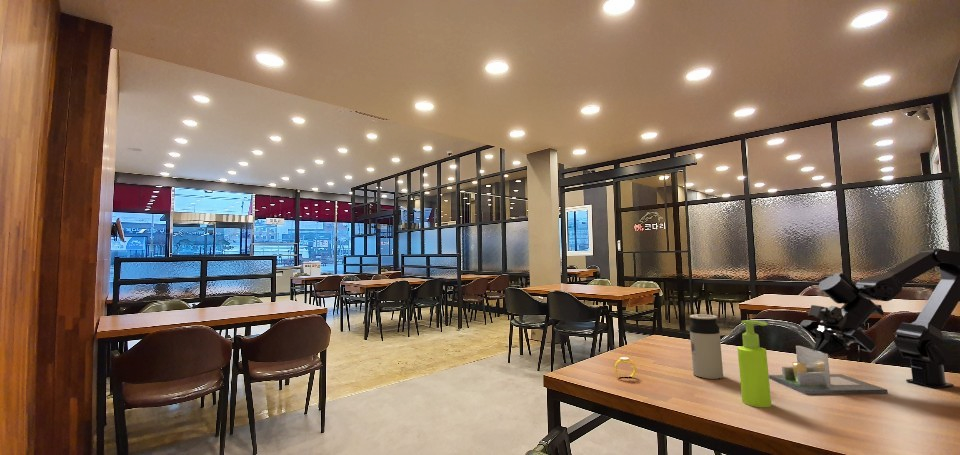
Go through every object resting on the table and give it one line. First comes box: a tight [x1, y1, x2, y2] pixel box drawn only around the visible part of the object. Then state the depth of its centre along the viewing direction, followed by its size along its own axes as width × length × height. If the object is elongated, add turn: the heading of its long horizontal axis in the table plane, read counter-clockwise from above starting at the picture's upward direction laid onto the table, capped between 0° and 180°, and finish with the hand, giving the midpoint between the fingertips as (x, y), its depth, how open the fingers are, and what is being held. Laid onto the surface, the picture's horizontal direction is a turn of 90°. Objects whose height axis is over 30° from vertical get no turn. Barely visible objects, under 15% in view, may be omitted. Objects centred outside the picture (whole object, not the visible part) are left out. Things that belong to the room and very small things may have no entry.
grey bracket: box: [781, 345, 831, 387], centre depth 109 cm, size 6×10×8 cm, turn 177°
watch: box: [614, 356, 637, 378], centre depth 121 cm, size 6×3×6 cm, turn 80°
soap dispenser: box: [737, 319, 772, 408], centre depth 97 cm, size 6×7×20 cm
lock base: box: [768, 361, 889, 396], centre depth 108 cm, size 20×14×6 cm
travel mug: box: [689, 313, 724, 380], centre depth 121 cm, size 8×8×18 cm
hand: (814, 356), depth 109 cm, fingers closed, pressing on grey bracket
